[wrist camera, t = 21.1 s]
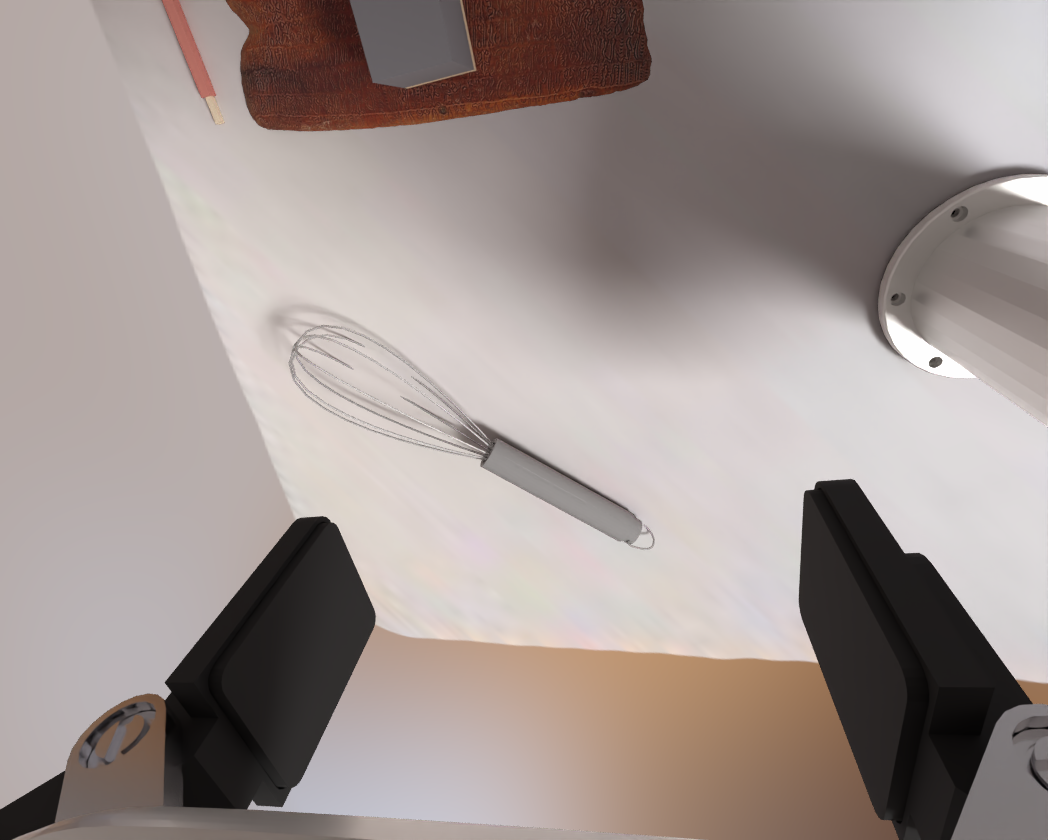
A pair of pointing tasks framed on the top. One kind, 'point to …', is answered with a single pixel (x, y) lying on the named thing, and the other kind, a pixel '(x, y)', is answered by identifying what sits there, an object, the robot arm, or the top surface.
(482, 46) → the wooden tablet
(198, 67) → the carpenter pencil
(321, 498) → the top surface
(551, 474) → the kitchen whisk
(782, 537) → the top surface
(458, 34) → the sanding block
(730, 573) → the top surface
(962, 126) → the top surface
